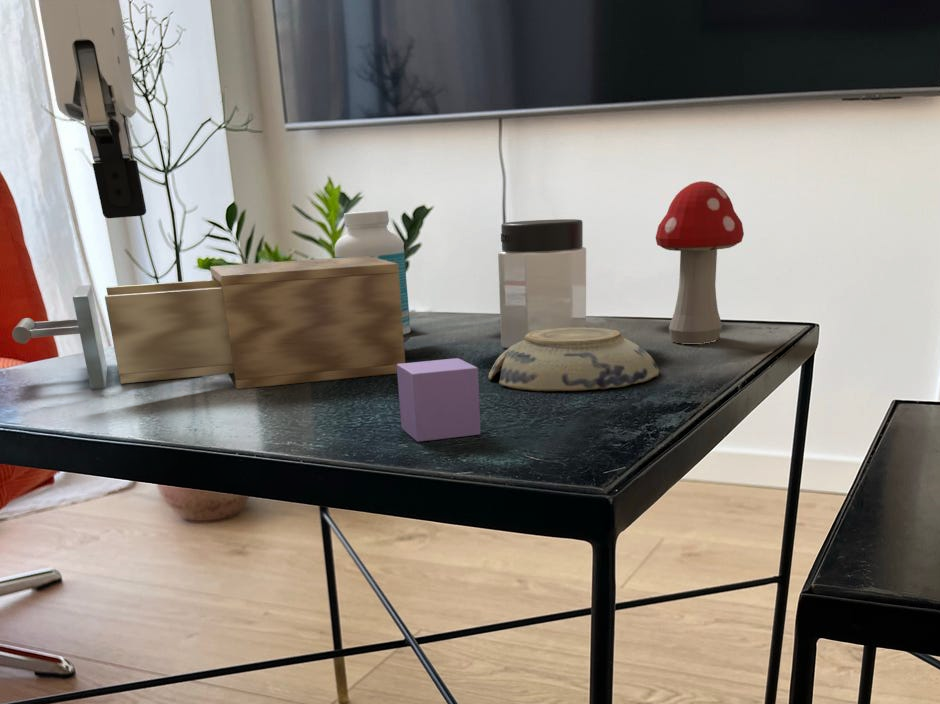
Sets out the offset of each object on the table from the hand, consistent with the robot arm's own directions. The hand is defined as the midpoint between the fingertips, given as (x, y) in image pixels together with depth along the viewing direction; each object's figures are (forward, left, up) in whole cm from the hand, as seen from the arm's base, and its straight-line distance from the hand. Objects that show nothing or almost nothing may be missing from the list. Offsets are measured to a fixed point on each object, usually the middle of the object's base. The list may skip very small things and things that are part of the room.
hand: (125, 216), depth 81 cm
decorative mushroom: (+49, -24, -15) cm, 56 cm away
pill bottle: (+32, +6, -15) cm, 36 cm away
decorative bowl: (+27, -24, -15) cm, 39 cm away
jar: (+39, -12, -15) cm, 43 cm away
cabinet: (+17, -1, -15) cm, 22 cm away
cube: (+5, -30, -15) cm, 33 cm away
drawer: (+3, +7, -14) cm, 16 cm away
